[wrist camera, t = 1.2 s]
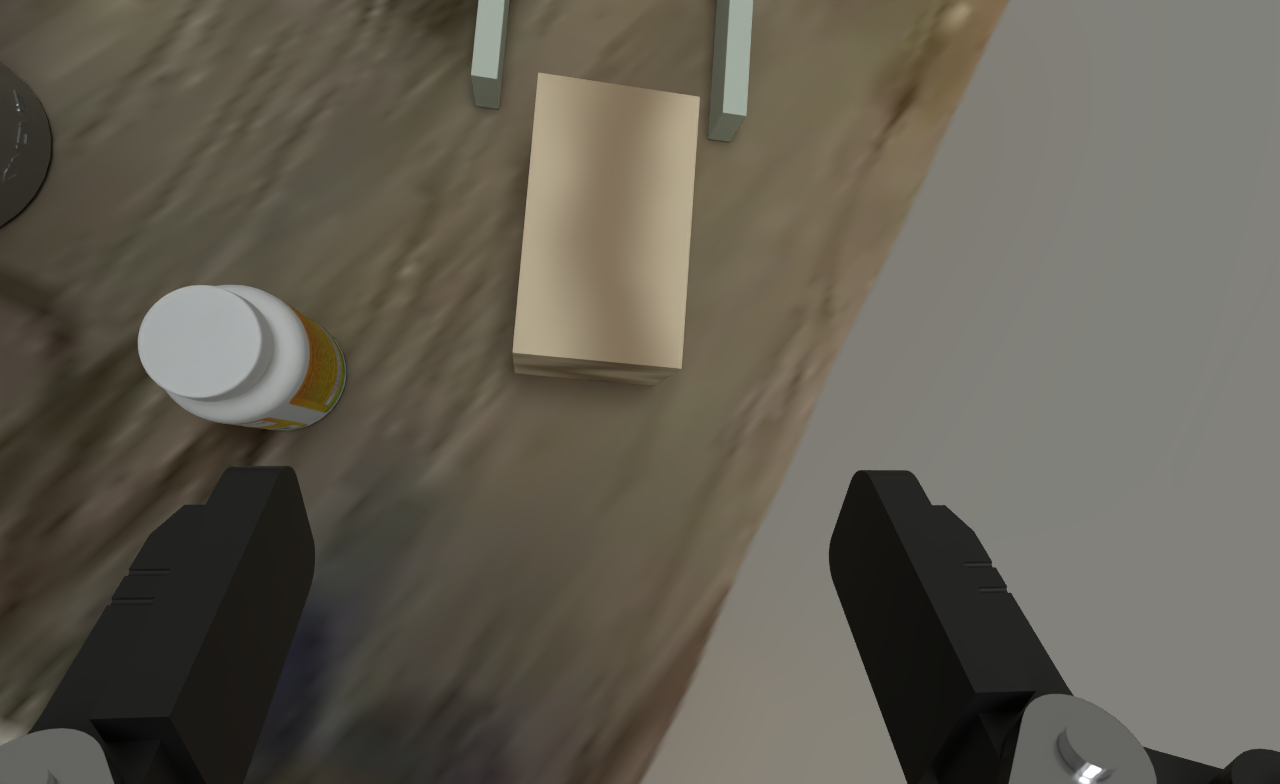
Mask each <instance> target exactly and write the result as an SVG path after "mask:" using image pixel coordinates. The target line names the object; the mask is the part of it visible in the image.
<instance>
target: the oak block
mask: <svg viewBox="0 0 1280 784" xmlns="http://www.w3.org/2000/svg"><path fill="white" fill-rule="evenodd" d="M699 101H700V97H696V96H690V95H683V94H677V93H670V92H663V91H657V90H650V89H643V88H637V87H630V86H624V85H617V84H610V83H604V82H597V81H590V80H584V79H577V78H571V77H564V76H557V75H551V74H544V73H538V82H537V93H536V104H535V115H534V126H533V136H532V147H531V158H530V169H529V180H528V190H527V201H526V212H525V223H524V234H523V244H522V255H521V266H520V277H519V288H518V298H517V309H516V320H515V331H514V341H513V352H512V353H513V362H514V370H515V373H517V374H528V375H539V376H550V377H561V378H572V379H583V380H594V381H605V382H616V383H627V384H638V385H649V386H654V385H656V384H657V383H659V382H661V381H662V380H664V379H665V378H667V377H669V376H670V375H672V374H674V373H675V372H677V371H679V370H680V369H682V355H683V340H684V325H685V310H686V295H687V280H688V265H689V250H690V235H691V220H692V205H693V190H694V175H695V160H696V145H697V130H698V116H699Z"/></svg>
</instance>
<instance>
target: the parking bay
mask: <svg viewBox="0 0 1280 784" xmlns="http://www.w3.org/2000/svg"><path fill="white" fill-rule="evenodd" d="M509 3H510V0H479V2H478V12H477V21H476V31H475V41H474V51H473V60H472V70H471V79H472V86H473V93H474V101H475V106H479V107H486V108H493V109H499V105H500V95H501V85H502V75H503V64H504V54H505V44H506V34H507V23H508V13H509ZM752 9H753V0H717V5H716V20H715V36H714V51H713V67H712V82H711V98H710V113H709V129H708V139H711V140H718V141H725V142H730V141H731V139H732V138H733V136H734V134H735V133H736V131H737V130H738V128H739V127H740V125H741V123H742V122H743V120H744V119H745V117H746V112H747V95H748V78H749V61H750V44H751V26H752Z"/></svg>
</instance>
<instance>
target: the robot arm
mask: <svg viewBox="0 0 1280 784" xmlns="http://www.w3.org/2000/svg"><path fill="white" fill-rule="evenodd" d="M50 155H51V134H50V129H49V124H48V119H47V117H46V114H45V112H44V110H43V108H42V106H41V104H40V102H39V99H38V98H37V97H36V96H35V94H34V93H33V92H32V91H31V89H30V88H29V87H28V85H27V84H26V83H25V82H24V81H23V80H22V79H20V78H19V77H18V76H17V75H16V74H14V73H13V72H12V71H11V70H10V69H8V68H7V67H6V66H4V65H3V64H2V63H0V226H2V225H3V224H4V223H6V222H7V221H9V220H10V219H11V218H13V217H14V216H15V215H17V214H18V213H19V212H20V211H21V210H22V209H23V208H24V207H25V206H26V205H27V204H28V203H29V201H30V200H31V199H32V198H33V197H34V196H35V194H36V192H37V190H38V189H39V187H40V185H41V183H42V182H43V180H44V178H45V175H46V171H47V168H48V165H49V161H50ZM829 565H830V571H831V576H832V580H833V583H834V586H835V588H836V591H837V594H838V596H839V599H840V602H841V605H842V607H843V610H844V613H845V615H846V618H847V621H848V624H849V626H850V629H851V632H852V634H853V637H854V640H855V643H856V645H857V648H858V651H859V653H860V656H861V659H862V661H863V664H864V667H865V670H866V672H867V675H868V678H869V681H870V683H871V686H872V689H873V691H874V694H875V697H876V699H877V702H878V705H879V708H880V710H881V713H882V716H883V718H884V721H885V724H886V726H887V729H888V732H889V734H890V737H891V740H892V743H893V745H894V748H895V751H896V754H897V756H898V759H899V762H900V765H901V767H902V770H903V773H904V775H905V778H906V781H907V784H1280V752H1277V751H1273V750H1266V749H1253V750H1249V751H1245V752H1243V753H1242V754H1240V755H1239V756H1238V757H1236V758H1235V759H1234V760H1233V761H1232V762H1231V763H1230V764H1229V765H1228V766H1226V767H1225V768H1224V769H1220V768H1216V767H1213V766H1209V765H1206V764H1202V763H1199V762H1195V761H1191V760H1188V759H1184V758H1181V757H1177V756H1173V755H1170V754H1166V753H1162V752H1159V751H1155V750H1152V749H1149V748H1146V747H1143V746H1142V745H1141V744H1140V742H1139V741H1138V740H1137V738H1136V737H1135V736H1134V735H1133V734H1132V733H1131V732H1130V731H1129V730H1128V729H1127V727H1126V726H1124V725H1123V724H1122V723H1121V722H1120V721H1119V720H1117V719H1116V718H1115V717H1114V716H1112V715H1111V714H1109V713H1108V712H1107V711H1105V710H1103V709H1102V708H1100V707H1098V706H1097V705H1095V704H1093V703H1091V702H1088V701H1086V700H1084V699H1081V698H1077V697H1074V696H1073V694H1072V693H1071V691H1070V690H1069V688H1068V687H1067V685H1066V683H1065V682H1064V680H1063V679H1062V677H1061V675H1060V674H1059V672H1058V670H1057V669H1056V667H1055V665H1054V664H1053V662H1052V660H1051V659H1050V657H1049V655H1048V654H1047V652H1046V650H1045V649H1044V647H1043V645H1042V644H1041V642H1040V640H1039V639H1038V637H1037V635H1036V634H1035V632H1034V631H1033V629H1032V627H1031V625H1030V624H1029V622H1028V620H1027V619H1026V617H1025V616H1024V614H1023V612H1022V611H1021V609H1020V607H1019V606H1018V604H1017V602H1016V601H1015V599H1014V597H1013V596H1012V594H1011V593H1008V592H1007V586H1006V584H1005V582H1004V581H1003V579H1002V577H1001V576H1000V574H999V572H998V571H997V569H996V568H993V567H992V561H991V559H990V558H989V556H988V554H987V552H986V551H985V549H984V547H983V546H982V544H981V542H980V541H979V539H978V537H977V536H976V534H975V532H974V531H973V530H972V529H971V528H970V527H968V526H967V525H966V524H965V523H964V522H963V521H962V520H961V519H960V518H958V517H957V516H956V515H955V514H954V513H953V512H952V511H951V510H950V509H948V508H947V507H946V506H945V505H931V503H930V501H929V499H928V497H927V496H926V494H925V492H924V490H923V488H922V487H921V485H920V483H919V481H918V480H917V478H916V477H915V475H914V474H913V473H911V472H909V471H903V470H902V471H901V470H892V471H890V470H888V471H887V470H879V471H878V470H861V471H857V472H856V473H855V474H854V476H853V477H852V480H851V482H850V485H849V488H848V491H847V494H846V497H845V500H844V502H843V505H842V509H841V511H840V514H839V517H838V520H837V523H836V526H835V528H834V531H833V534H832V537H831V541H830V548H829ZM314 566H315V546H314V540H313V536H312V532H311V528H310V525H309V521H308V517H307V513H306V510H305V506H304V502H303V498H302V494H301V491H300V487H299V483H298V479H297V476H296V473H295V471H294V470H293V468H291V467H290V466H231V467H229V468H227V469H226V470H225V471H224V473H223V474H222V476H221V478H220V479H219V481H218V483H217V485H216V487H215V489H214V491H213V492H212V494H211V496H210V498H209V500H208V502H207V503H206V505H184V506H183V507H181V508H180V509H179V510H178V511H177V512H176V513H174V514H173V515H172V516H171V517H170V518H169V519H167V520H166V521H165V522H164V523H163V524H162V525H160V526H159V527H158V528H157V529H156V530H155V531H153V532H152V533H151V534H150V535H149V537H148V538H147V540H146V542H145V543H144V545H143V547H142V548H141V550H140V552H139V553H138V555H137V557H136V558H135V560H134V562H133V563H132V565H131V567H130V568H129V575H128V576H125V577H124V578H123V580H122V582H121V583H120V585H119V587H118V588H117V590H116V592H115V593H114V595H113V597H112V603H111V605H110V606H106V608H105V610H104V611H103V613H102V615H101V616H100V618H99V620H98V621H97V623H96V625H95V626H94V628H93V630H92V631H91V633H90V635H89V636H88V638H87V640H86V641H85V643H84V645H83V646H82V648H81V650H80V651H79V653H78V655H77V656H76V658H75V660H74V661H73V663H72V665H71V666H70V668H69V670H68V671H67V673H66V675H65V676H64V678H63V680H62V681H61V683H60V685H59V686H58V688H57V690H56V691H55V693H54V695H53V696H52V698H51V699H50V701H49V703H48V704H47V706H46V708H45V709H44V711H43V713H42V714H41V716H40V718H39V719H38V720H37V722H36V723H35V725H34V726H33V728H32V729H31V730H30V731H29V733H28V734H27V735H24V736H21V737H19V738H17V739H14V740H12V741H10V742H8V743H5V744H4V745H2V746H0V784H243V783H244V780H245V777H246V774H247V771H248V768H249V766H250V763H251V760H252V757H253V754H254V751H255V748H256V745H257V742H258V739H259V736H260V733H261V730H262V728H263V725H264V722H265V719H266V716H267V713H268V710H269V707H270V704H271V701H272V698H273V695H274V692H275V689H276V687H277V684H278V681H279V678H280V675H281V672H282V669H283V666H284V663H285V660H286V657H287V654H288V651H289V648H290V646H291V643H292V640H293V637H294V634H295V631H296V628H297V625H298V622H299V619H300V616H301V613H302V610H303V608H304V605H305V602H306V599H307V596H308V593H309V590H310V587H311V584H312V579H313V574H314Z"/></svg>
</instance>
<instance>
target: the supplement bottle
mask: <svg viewBox="0 0 1280 784" xmlns="http://www.w3.org/2000/svg"><path fill="white" fill-rule="evenodd" d="M138 352H139V356H140V359H141V362H142V364H143V367H144V368H145V370H146V372H147V373H148V374H149V376H150V377H151V378H152V379H153V380H154V381H155V382H156V383H157V384H158V385H160V386H161V387H162V388H164V389H165V390H166V392H167V393H168V394H169V395H170V397H171V398H172V399H173V400H174V401H175V402H176V403H177V404H179V405H180V406H181V407H183V408H184V409H185V410H187V411H189V412H190V413H192V414H194V415H196V416H198V417H201V418H204V419H207V420H210V421H213V422H218V423H224V424H232V425H240V426H245V427H255V428H262V429H269V430H294V429H300V428H303V427H306V426H309V425H311V424H313V423H315V422H317V421H319V420H320V419H322V418H323V417H324V416H326V415H327V414H328V413H329V412H330V411H331V410H332V409H333V407H334V406H335V405H336V403H337V402H338V400H339V398H340V396H341V394H342V392H343V389H344V386H345V382H346V364H345V359H344V356H343V353H342V351H341V349H340V347H339V345H338V343H337V342H336V341H335V339H334V338H333V337H332V336H331V335H330V334H329V333H328V332H327V331H326V330H325V329H324V328H322V327H321V326H320V325H318V324H317V323H315V322H314V321H312V320H310V319H309V318H307V317H306V316H304V315H303V314H301V313H300V312H298V311H297V310H295V309H294V308H292V307H290V306H289V305H287V304H286V303H285V302H283V301H282V300H280V299H278V298H277V297H275V296H273V295H271V294H269V293H267V292H265V291H263V290H260V289H257V288H253V287H249V286H244V285H220V286H210V285H194V286H188V287H184V288H180V289H177V290H175V291H173V292H171V293H169V294H167V295H165V296H164V297H162V298H161V299H160V300H159V301H158V302H156V303H155V304H154V305H153V306H152V308H151V309H150V310H149V311H148V313H147V314H146V316H145V317H144V319H143V322H142V324H141V327H140V330H139V335H138Z"/></svg>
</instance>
